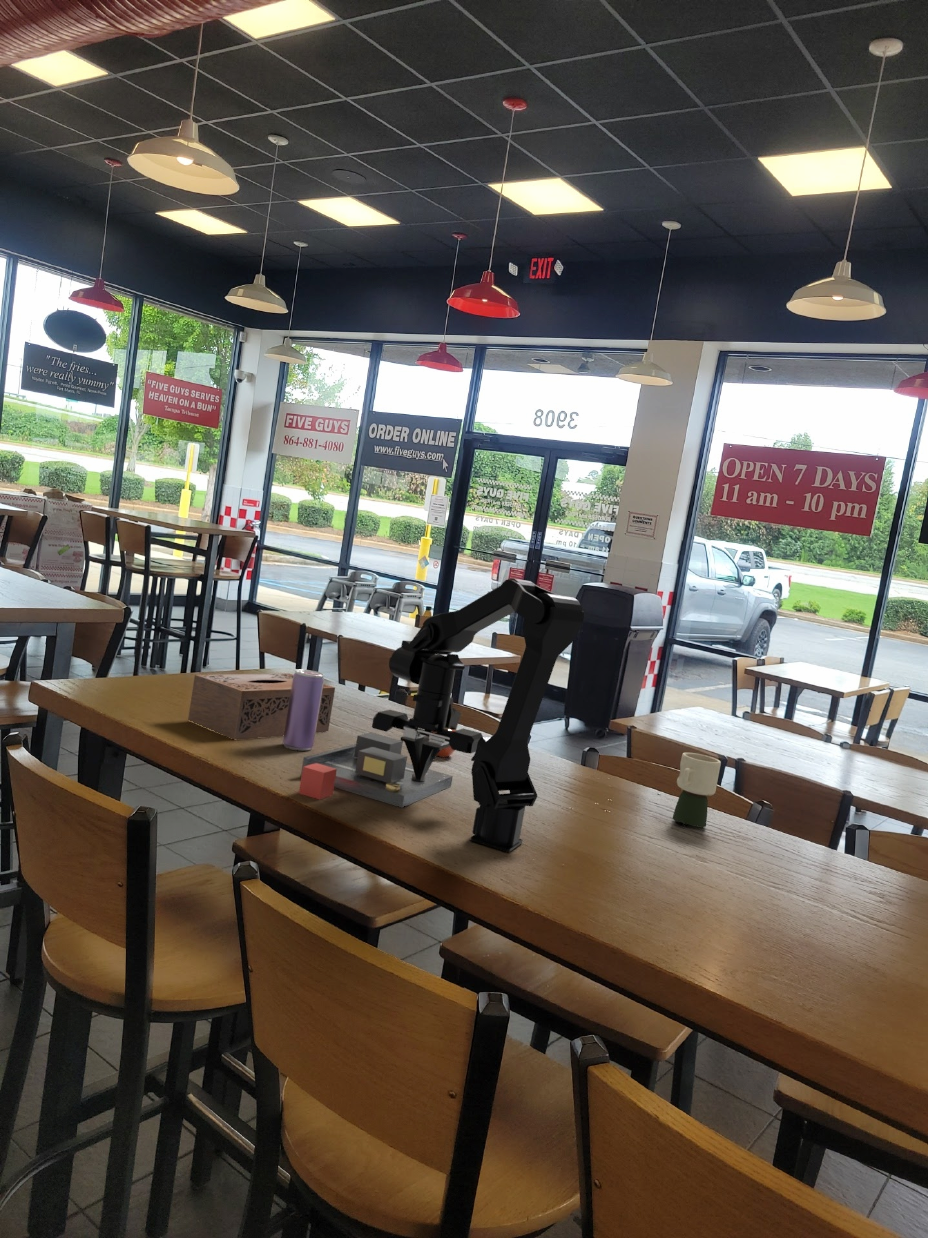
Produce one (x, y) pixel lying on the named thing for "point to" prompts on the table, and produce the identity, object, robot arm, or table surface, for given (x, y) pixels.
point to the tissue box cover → (249, 704)
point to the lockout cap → (317, 781)
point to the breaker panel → (372, 788)
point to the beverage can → (303, 710)
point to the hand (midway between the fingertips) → (419, 780)
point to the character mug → (695, 788)
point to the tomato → (445, 751)
